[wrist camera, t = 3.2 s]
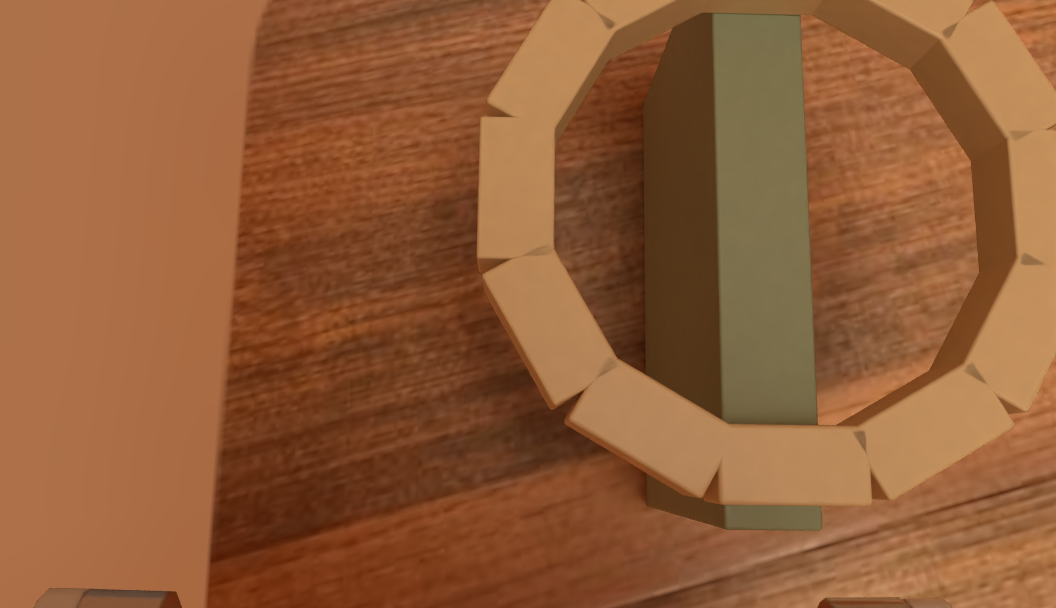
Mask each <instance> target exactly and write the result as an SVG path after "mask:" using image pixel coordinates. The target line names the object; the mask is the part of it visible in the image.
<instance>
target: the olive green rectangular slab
mask: <svg viewBox="0 0 1056 608" xmlns="http://www.w3.org/2000/svg"><path fill="white" fill-rule="evenodd" d="M643 170H644V276H645V375H647V376H649V377H650V378H652V379H654V380H655V381H657V382H659V383H661V384H662V385H664V386H666V387H667V388H669V389H671V390H672V391H674V392H676V393H677V394H679V395H681V396H683V397H684V398H686V399H688V400H689V401H691V402H693V403H694V404H696V405H698V406H699V407H701V408H703V409H704V410H706V411H708V412H710V413H711V414H713V415H715V416H716V417H718V418H720V419H721V420H723V421H725V422H726V423H728V424H774V425H818V419H817V395H816V372H815V348H814V325H813V301H812V277H811V254H810V230H809V207H808V183H807V160H806V136H805V113H804V89H803V66H802V42H801V19H800V15H778V14H739V13H700V14H698V15H696V16H694V17H692V18H690V19H688V20H686V21H684V22H682V23H680V24H679V25H677V26H675V27H673V29H672V31H671V34H670V37H669V39H668V42H667V44H666V47H665V49H664V52H663V54H662V57H661V60H660V62H659V65H658V67H657V70H656V72H655V75H654V78H653V80H652V83H651V85H650V88H649V90H648V93H647V95H646V98H645V101H644V103H643ZM646 486H647V506H649V507H653V508H656V509H659V510H663V511H666V512H669V513H673V514H676V515H679V516H683V517H686V518H689V519H693V520H696V521H700V522H703V523H706V524H710V525H713V526H716V527H720V528H723V529H726V530H791V531H820V530H821V529H822V513H821V506H770V505H721V504H716V503H711V502H707V501H704V499H703V497H702V498H696V497H690V496H685V495H682V494H680V493H679V492H677V491H675V490H674V489H672V488H670V487H669V486H667V485H665V484H664V483H662V482H660V481H659V480H657V479H655V478H654V477H652V476H650V475H649V474H647V473H646Z"/></svg>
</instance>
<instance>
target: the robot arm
mask: <svg viewBox="0 0 1056 608" xmlns="http://www.w3.org/2000/svg"><path fill="white" fill-rule="evenodd" d="M34 608H182V606H181V604H180V601H179V598H178V596H177V593H176V592H173V591H139V590H107V589H106V590H105V589H75V588H74V589H73V588H70V589H69V588H49V589H48V590H47V591H46V592H45V593H44V594H43V595H42V596H41V597H40V598H39V599H38V600H37V602H36V604H35V606H34ZM818 608H952V607H951V606H950V605H949V604H948V603H947V602H946V601H945V600H944V599H901V598H899V597H885V598H825V599H823V600H822V601H821V602H820V603H819V606H818Z"/></svg>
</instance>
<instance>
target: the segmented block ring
mask: <svg viewBox="0 0 1056 608" xmlns="http://www.w3.org/2000/svg"><path fill="white" fill-rule="evenodd" d="M973 1H974V0H550V1H549V2H548V4H547V6H546V7H545V9H544V10H543V12H542V13H541V15H540V16H539V18H538V20H537V21H536V23H535V24H534V26H533V27H532V29H531V30H530V32H529V34H528V35H527V37H526V38H525V40H524V41H523V43H522V44H521V46H520V48H519V49H518V51H517V52H516V54H515V55H514V57H513V58H512V60H511V62H510V63H509V65H508V66H507V68H506V69H505V71H504V72H503V74H502V76H501V77H500V79H499V80H498V82H497V83H496V85H495V86H494V88H493V89H492V91H491V93H490V94H489V96H488V97H487V100H486V106H487V117H485V116H483V117H481V118H480V133H479V175H478V217H477V263H478V271H479V273H484V274H483V275H482V280H483V289H484V293H485V294H486V296H487V298H488V300H489V301H490V303H491V305H492V307H493V309H494V310H495V312H496V314H497V316H498V318H499V319H500V321H501V323H502V325H503V326H504V328H505V330H506V332H507V334H508V335H509V337H510V339H511V341H512V343H513V344H514V346H515V348H516V350H517V351H518V353H519V355H520V357H521V359H522V360H523V362H524V364H525V366H526V368H527V369H528V371H529V373H530V375H531V376H532V378H533V380H534V382H535V384H536V385H537V387H538V389H539V391H540V393H541V394H542V396H543V398H544V400H545V401H546V403H547V405H548V407H549V408H550V409H551V410H552V409H555V408H557V407H559V406H560V405H562V404H564V403H566V402H568V401H569V400H571V399H573V398H575V397H576V396H578V397H577V398H576V400H575V402H574V403H573V405H572V407H571V409H570V410H569V412H568V414H567V415H566V417H565V419H564V423H565V425H567V426H569V427H570V428H572V429H574V430H575V431H577V432H579V433H580V434H582V435H584V436H585V437H587V438H589V439H590V440H592V441H594V442H595V443H597V444H599V445H600V446H602V447H604V448H605V449H607V450H609V451H610V452H612V453H614V454H615V455H617V456H619V457H620V458H622V459H624V460H625V461H627V462H629V463H630V464H632V465H634V466H635V467H637V468H639V469H640V470H642V471H644V472H645V473H647V474H649V475H650V476H652V477H654V478H655V479H657V480H659V481H660V482H662V483H664V484H665V485H667V486H669V487H670V488H672V489H674V490H675V491H677V492H679V493H680V494H682V495H685V496H690V497H696V498H702V497H703V499H704V501H707V502H711V503H716V504H721V505H770V506H851V507H868V506H870V505H871V504H872V499H877V500H887V501H892V500H894V499H896V498H898V497H899V496H901V495H903V494H904V493H906V492H908V491H909V490H911V489H913V488H914V487H916V486H917V485H919V484H921V483H922V482H924V481H926V480H927V479H929V478H931V477H932V476H934V475H936V474H937V473H939V472H941V471H942V470H944V469H946V468H947V467H949V466H951V465H952V464H954V463H956V462H957V461H959V460H960V459H962V458H964V457H965V456H967V455H969V454H970V453H972V452H974V451H975V450H977V449H979V448H980V447H982V446H984V445H985V444H987V443H989V442H990V441H992V440H994V439H995V438H997V437H999V436H1000V435H1002V434H1004V433H1005V432H1007V431H1008V430H1010V429H1012V428H1013V427H1014V426H1015V424H1014V422H1013V421H1012V419H1011V417H1010V416H1009V414H1014V413H1024V412H1027V411H1028V410H1029V409H1030V407H1031V404H1032V402H1033V400H1034V398H1035V396H1036V394H1037V392H1038V390H1039V388H1040V386H1041V384H1042V382H1043V380H1044V378H1045V376H1046V374H1047V372H1048V370H1049V368H1050V365H1051V363H1052V361H1053V359H1054V357H1055V355H1056V130H1049V129H1050V128H1052V127H1054V126H1055V125H1056V90H1055V89H1054V87H1053V86H1052V84H1051V83H1050V81H1049V80H1048V79H1047V77H1046V76H1045V74H1044V73H1043V71H1042V70H1041V68H1040V67H1039V65H1038V64H1037V63H1036V61H1035V60H1034V58H1033V57H1032V55H1031V54H1030V52H1029V51H1028V49H1027V48H1026V47H1025V45H1024V44H1023V42H1022V41H1021V39H1020V38H1019V36H1018V35H1017V33H1016V32H1015V31H1014V29H1013V28H1012V26H1011V25H1010V23H1009V22H1008V20H1007V19H1006V17H1005V16H1004V14H1003V13H1002V12H1001V10H1000V9H999V7H998V6H997V4H996V3H995V2H994V1H988V2H986V3H985V4H983V5H981V6H979V7H977V8H975V9H973V10H972V11H970V12H968V10H969V8H970V7H971V5H972V3H973ZM967 12H968V13H967ZM700 13H739V14H778V15H813V16H814V17H816V18H818V19H820V20H822V21H823V22H825V23H827V24H829V25H831V26H833V27H834V28H836V29H838V30H840V31H842V32H843V33H845V34H847V35H849V36H851V37H852V38H854V39H856V40H858V41H860V42H861V43H863V44H865V45H867V46H869V47H870V48H872V49H874V50H876V51H878V52H880V53H881V54H883V55H885V56H887V57H889V58H890V59H892V60H894V61H896V62H898V63H899V64H901V65H903V66H905V67H907V68H908V69H910V70H911V71H912V73H913V74H914V76H915V78H916V79H917V81H918V82H919V84H920V85H921V87H922V88H923V90H924V91H925V93H926V94H927V96H928V97H929V99H930V100H931V102H932V103H933V105H934V106H935V108H936V109H937V111H938V112H939V114H940V115H941V117H942V118H943V120H944V121H945V123H946V124H947V126H948V127H949V129H950V130H951V132H952V133H953V135H954V136H955V138H956V139H957V141H958V142H959V144H960V145H961V147H962V148H963V150H964V151H965V153H966V154H967V156H968V157H969V159H970V160H971V169H972V183H973V196H974V209H975V222H976V235H977V249H978V262H979V274H978V276H977V278H976V280H975V282H974V284H973V286H972V288H971V290H970V292H969V294H968V296H967V298H966V300H965V302H964V304H963V306H962V308H961V310H960V312H959V314H958V315H957V317H956V319H955V321H954V323H953V325H952V327H951V329H950V331H949V333H948V335H947V337H946V339H945V341H944V343H943V345H942V347H941V349H940V351H939V353H938V355H937V356H936V358H935V360H934V362H933V364H932V366H931V368H930V370H929V371H928V372H926V373H924V374H922V375H921V376H919V377H917V378H916V379H914V380H912V381H911V382H909V383H907V384H905V385H904V386H902V387H900V388H899V389H897V390H895V391H894V392H892V393H890V394H888V395H887V396H885V397H883V398H882V399H880V400H878V401H877V402H875V403H873V404H871V405H870V406H868V407H866V408H865V409H863V410H861V411H860V412H858V413H856V414H854V415H853V416H851V417H849V418H848V419H846V420H844V421H843V422H841V423H839V424H837V425H774V424H728V423H726V422H725V421H723V420H721V419H720V418H718V417H716V416H715V415H713V414H711V413H710V412H708V411H706V410H704V409H703V408H701V407H699V406H698V405H696V404H694V403H693V402H691V401H689V400H688V399H686V398H684V397H683V396H681V395H679V394H677V393H676V392H674V391H672V390H671V389H669V388H667V387H666V386H664V385H662V384H661V383H659V382H657V381H655V380H654V379H652V378H650V377H649V376H647V375H645V374H644V373H642V372H640V371H639V370H637V369H635V368H633V367H632V366H630V365H628V364H627V363H625V362H623V361H622V360H620V359H618V358H617V357H616V355H615V353H614V352H613V350H612V348H611V346H610V345H609V343H608V341H607V339H606V338H605V336H604V334H603V333H602V331H601V329H600V327H599V326H598V324H597V322H596V320H595V319H594V317H593V315H592V313H591V312H590V310H589V308H588V307H587V305H586V303H585V301H584V300H583V298H582V296H581V294H580V293H579V291H578V289H577V287H576V286H575V284H574V282H573V281H572V279H571V277H570V275H569V274H568V272H567V270H566V268H565V267H564V265H563V263H562V261H561V260H560V258H559V256H558V255H557V253H556V251H555V249H554V198H555V146H556V144H557V143H558V141H559V139H560V138H561V136H562V134H563V133H564V131H565V130H566V128H567V126H568V125H569V123H570V122H571V120H572V118H573V117H574V115H575V114H576V112H577V110H578V109H579V107H580V105H581V104H582V102H583V101H584V99H585V97H586V96H587V94H588V93H589V91H590V89H591V88H592V86H593V85H594V83H595V81H596V80H597V78H598V77H599V75H600V73H601V72H602V70H603V68H604V67H605V65H606V64H607V62H608V61H609V60H611V59H613V58H615V57H617V56H619V55H621V54H623V53H625V52H627V51H628V50H630V49H632V48H634V47H636V46H638V45H640V44H642V43H644V42H646V41H648V40H650V39H652V38H654V37H655V36H657V35H659V34H661V33H663V32H665V31H667V30H669V29H671V28H673V27H675V26H677V25H679V24H680V23H682V22H684V21H686V20H688V19H690V18H692V17H694V16H696V15H698V14H700Z"/></svg>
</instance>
